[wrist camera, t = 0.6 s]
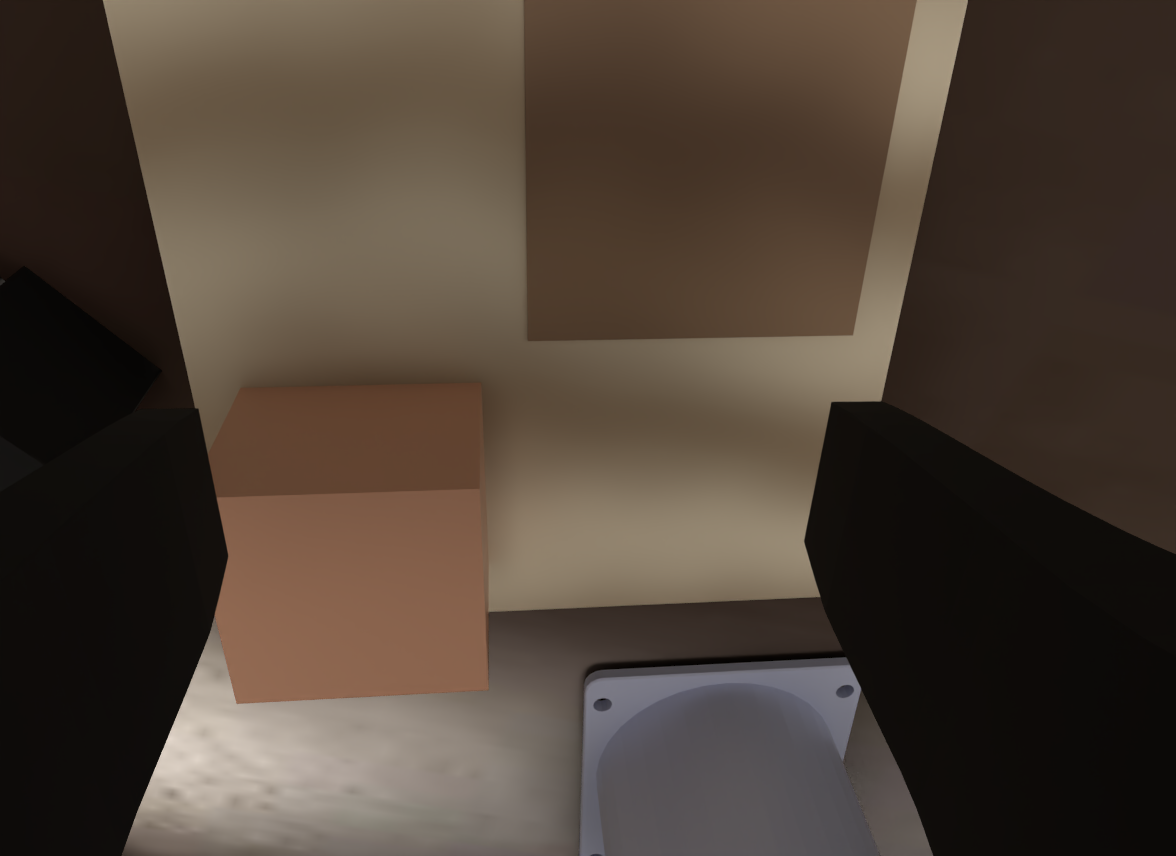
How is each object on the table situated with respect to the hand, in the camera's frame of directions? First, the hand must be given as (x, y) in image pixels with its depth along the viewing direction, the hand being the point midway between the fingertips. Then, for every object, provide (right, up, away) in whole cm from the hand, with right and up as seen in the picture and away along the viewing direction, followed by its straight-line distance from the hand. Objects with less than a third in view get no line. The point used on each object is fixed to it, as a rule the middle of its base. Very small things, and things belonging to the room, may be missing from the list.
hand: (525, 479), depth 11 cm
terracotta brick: (-4, -1, +10) cm, 11 cm away
